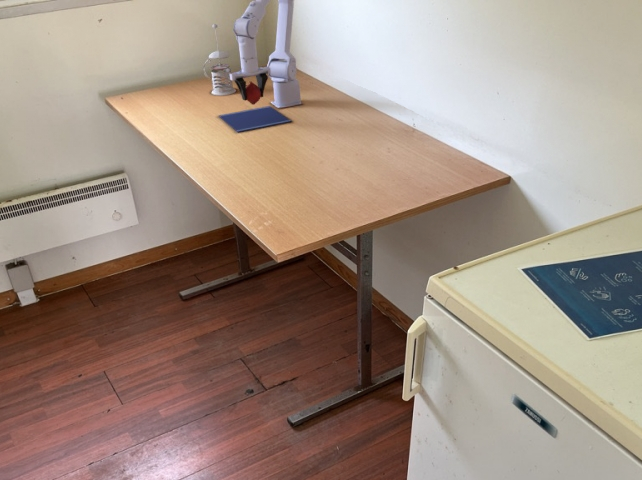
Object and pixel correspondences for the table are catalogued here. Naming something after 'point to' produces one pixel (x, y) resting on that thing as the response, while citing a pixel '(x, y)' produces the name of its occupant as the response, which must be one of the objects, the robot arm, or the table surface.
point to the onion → (253, 93)
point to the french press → (221, 86)
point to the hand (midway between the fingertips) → (253, 98)
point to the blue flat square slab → (254, 119)
